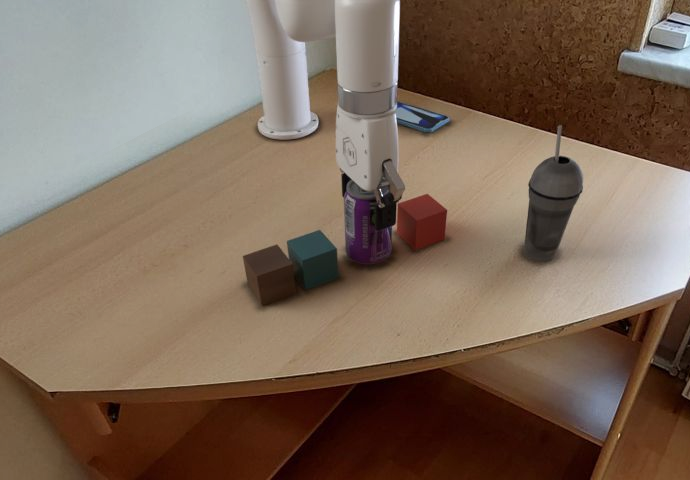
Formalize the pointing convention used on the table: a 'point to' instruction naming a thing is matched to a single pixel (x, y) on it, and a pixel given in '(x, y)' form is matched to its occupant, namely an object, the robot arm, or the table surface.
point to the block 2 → (313, 259)
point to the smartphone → (419, 117)
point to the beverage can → (364, 226)
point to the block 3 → (421, 221)
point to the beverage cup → (551, 203)
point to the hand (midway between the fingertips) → (368, 210)
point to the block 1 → (269, 274)
